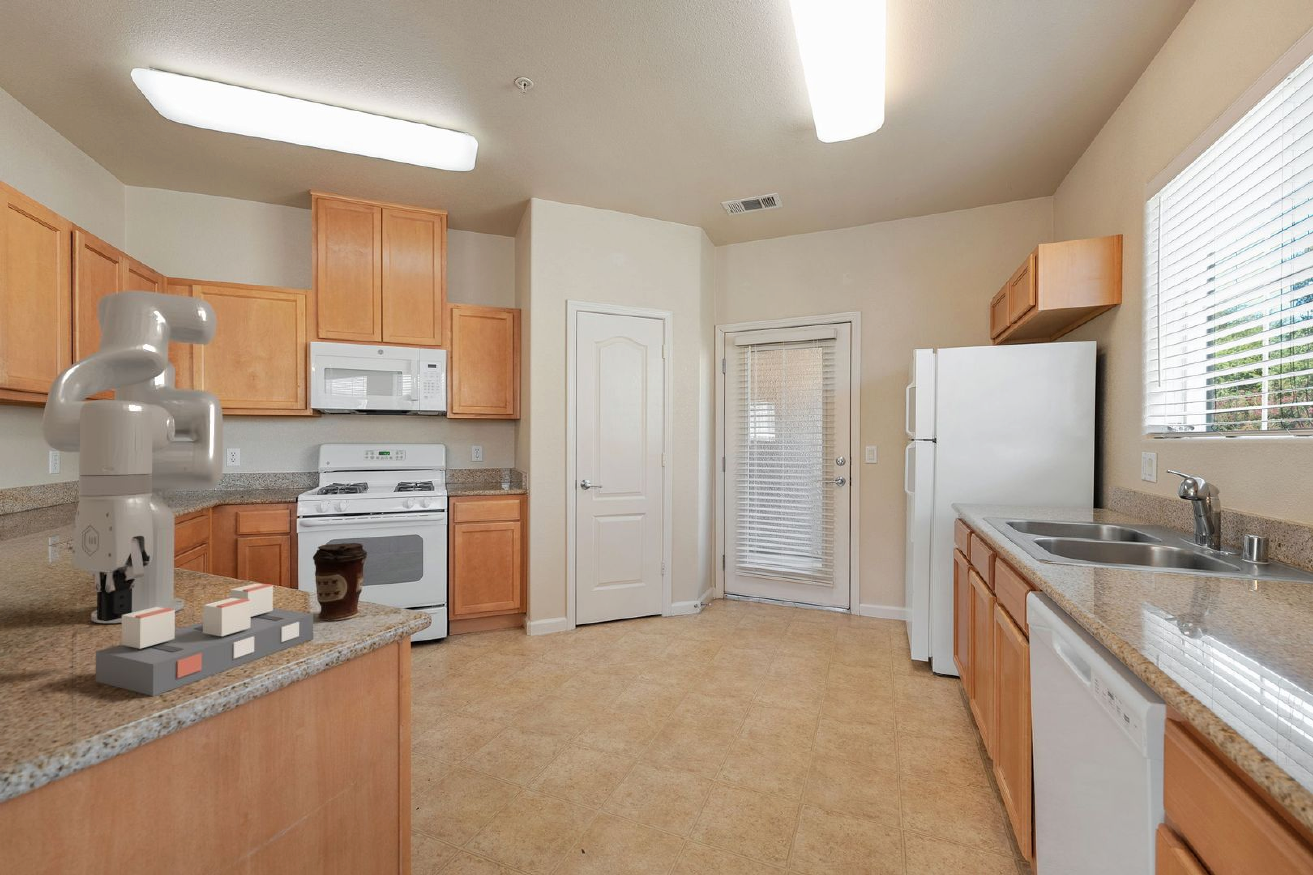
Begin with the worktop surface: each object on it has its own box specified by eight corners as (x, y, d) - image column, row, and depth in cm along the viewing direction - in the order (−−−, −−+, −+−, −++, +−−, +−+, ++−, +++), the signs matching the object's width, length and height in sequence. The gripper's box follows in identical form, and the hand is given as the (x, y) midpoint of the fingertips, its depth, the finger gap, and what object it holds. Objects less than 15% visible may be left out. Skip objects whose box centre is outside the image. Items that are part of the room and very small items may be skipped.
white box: (121, 644, 77) (121, 613, 77) (156, 635, 80) (156, 605, 80) (140, 648, 75) (140, 616, 75) (174, 638, 79) (174, 608, 79)
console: (95, 681, 75) (96, 650, 75) (261, 629, 96) (261, 605, 96) (154, 696, 71) (154, 663, 71) (313, 638, 92) (314, 613, 92)
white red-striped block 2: (230, 614, 90) (230, 588, 90) (255, 607, 94) (255, 582, 94) (247, 617, 88) (248, 590, 88) (272, 610, 92) (273, 584, 92)
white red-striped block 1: (202, 632, 82) (203, 603, 82) (231, 624, 85) (232, 596, 85) (221, 636, 80) (221, 606, 80) (250, 627, 84) (250, 599, 84)
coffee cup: (341, 625, 98) (341, 550, 98) (299, 622, 100) (300, 548, 100) (375, 611, 107) (376, 542, 107) (337, 608, 108) (337, 540, 108)
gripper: (50, 488, 79) (48, 620, 79) (116, 490, 74) (113, 631, 74) (116, 485, 86) (115, 606, 86) (180, 487, 81) (179, 615, 81)
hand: (114, 617), depth 80 cm, fingers closed
